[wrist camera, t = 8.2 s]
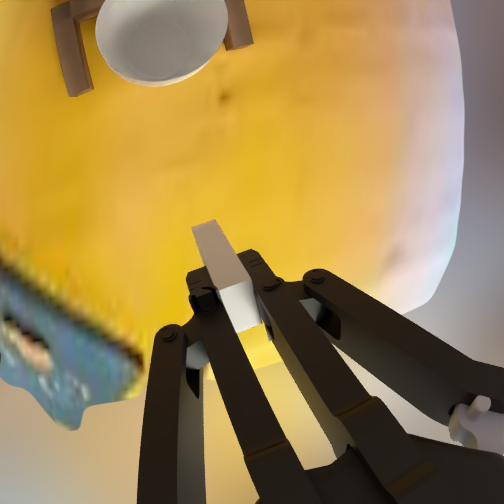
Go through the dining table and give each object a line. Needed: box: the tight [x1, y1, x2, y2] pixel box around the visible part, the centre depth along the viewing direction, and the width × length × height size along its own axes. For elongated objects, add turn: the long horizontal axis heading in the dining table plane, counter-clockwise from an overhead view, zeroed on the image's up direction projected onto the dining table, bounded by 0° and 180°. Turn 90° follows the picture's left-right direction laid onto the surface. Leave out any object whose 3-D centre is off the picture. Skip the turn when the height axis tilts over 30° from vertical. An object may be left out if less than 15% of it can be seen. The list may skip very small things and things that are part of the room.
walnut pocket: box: [51, 0, 254, 97], centre depth 22 cm, size 18×10×3 cm, turn 102°
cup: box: [95, 0, 228, 86], centre depth 20 cm, size 9×9×12 cm
